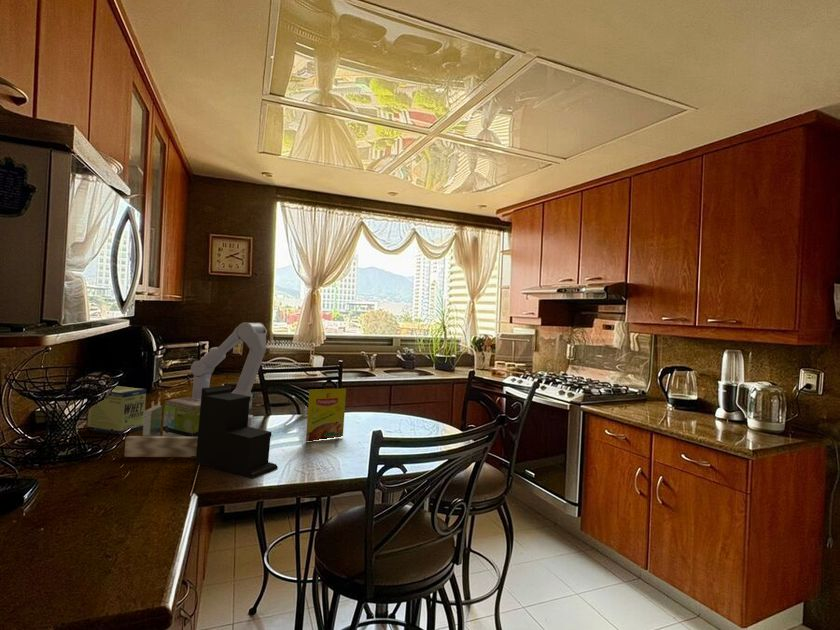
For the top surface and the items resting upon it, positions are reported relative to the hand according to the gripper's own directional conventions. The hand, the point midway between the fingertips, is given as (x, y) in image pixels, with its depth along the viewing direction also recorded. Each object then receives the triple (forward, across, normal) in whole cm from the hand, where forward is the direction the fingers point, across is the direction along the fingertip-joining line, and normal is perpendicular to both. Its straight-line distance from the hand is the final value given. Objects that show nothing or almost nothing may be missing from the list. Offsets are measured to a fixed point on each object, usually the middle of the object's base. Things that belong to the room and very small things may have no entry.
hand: (198, 427), depth 167 cm
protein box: (+3, -4, -30) cm, 30 cm away
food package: (+3, +8, +48) cm, 49 cm away
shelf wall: (+2, +28, 0) cm, 28 cm away
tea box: (+3, +11, 0) cm, 12 cm away
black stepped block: (+3, +38, +22) cm, 44 cm away
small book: (+2, +23, -8) cm, 24 cm away
